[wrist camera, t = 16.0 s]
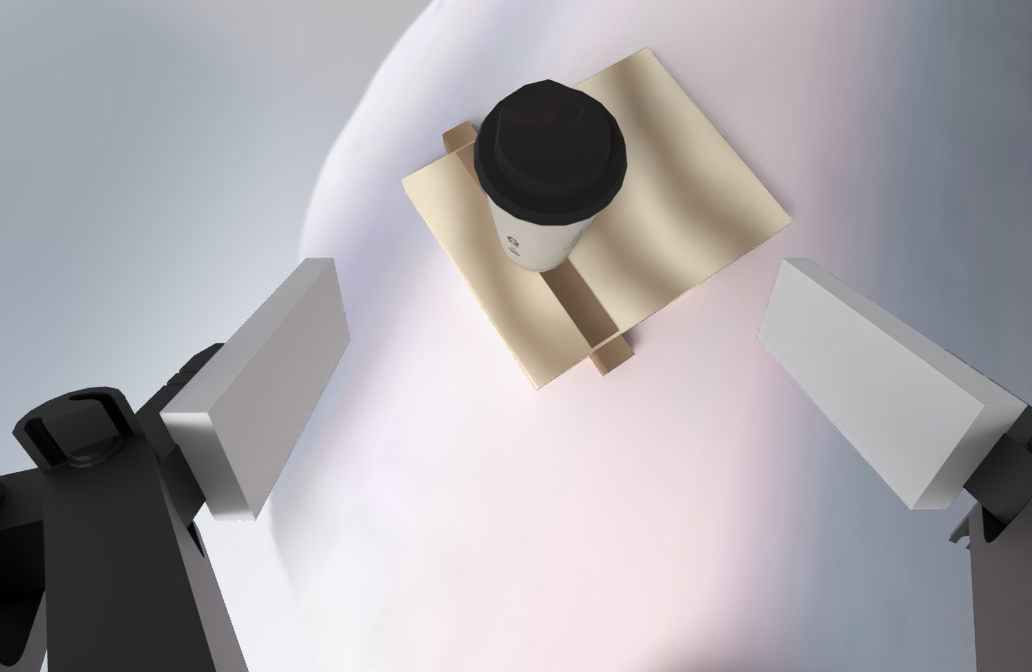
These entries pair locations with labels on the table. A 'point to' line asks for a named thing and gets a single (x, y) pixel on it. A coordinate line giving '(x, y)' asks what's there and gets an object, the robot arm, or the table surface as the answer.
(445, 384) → the table surface
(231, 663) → the robot arm
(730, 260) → the subfloor panel
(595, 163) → the coffee cup
